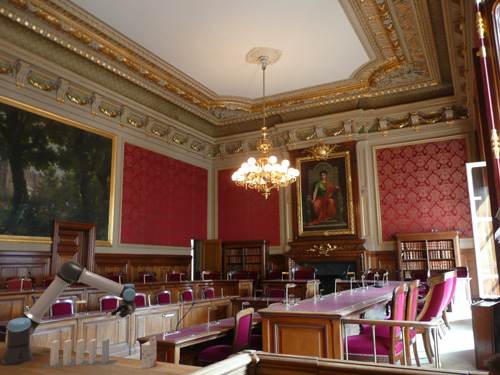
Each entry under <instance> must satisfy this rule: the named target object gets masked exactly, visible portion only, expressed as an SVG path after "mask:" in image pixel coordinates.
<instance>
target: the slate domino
mask: <svg viewBox="0 0 500 375" xmlns="http://www.w3.org/2000/svg"><path fill="white" fill-rule="evenodd" d="M101 360H102V364H105V363H107V362H108V361H109V360H110V338H108V337H107V338H105V339H103V340H102V343H101Z"/></svg>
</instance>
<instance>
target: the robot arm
mask: <svg viewBox="0 0 500 375" xmlns="http://www.w3.org/2000/svg"><path fill="white" fill-rule="evenodd" d="M75 282H76V283H77V284H78V283H81V284H82V283H83V284H85V285H88V286H90V287H93V288H95V289H98V290H100V291H103V292H106V293H108V294H111V295H113V296H115V297H117V298H120V299H122V304H120V305H118V307H117V308H116V309H114V310H113V309H110V310H108V311H105V317H106V319H110V318H112V317H113V316H114V317H115V318H116V319H119V318H126V317H127V316H129V315H132V314H134V312H135V311H136V309H137V308H136V307H137V306H136V303H135V298H136V295H137V294H136V290H135V284H133V283H128V284H126V283H125V284H121V283H119V282H116V281H114V280H111V279H109V278H106V277H104V276H101V275H100V274H96V273H94V272H92V271H89V270H87V268H86V267H84V266H82V265H81V264H80V262H78V261H76V260H74V259H73V260H66V261H65V262H63V263H62V264H61V265H60V267H59V270H58V271H57V272H56V273H55V277H54V280H52V282H51V283H50V285H49V286H48V287H47V288H46V289H45V290H44V291H43V293H42V294H41V295H40V297H39V298H38V299H37V300H36V302H35V303H34V304H33V305H32V306H31V308H29V310H28V311H24V312H23V313H22V314H21V315H20V317H18V318H14V319H11V320H9V321H8V323H7V324H8V325H7V338H6V348H5V352H4V354H3V357H2V362H1V363H2V365H5V366H10V365H11V366H13V365H21V364H24V363H28V362H30V361H32V360H33V353H32V350H31V349H32V348H31V345H30V344H31V335H33V334H34V332H35V331H36V329H37V328H38V326H40V324H41V323H42V321H41V319H42V318H43V316H44V315H45V314H46V313H47V311H48V310H49V309H50V308H51V306H52V305H53V304H54V303H55V301H57V299H58V298H59V296H60V295H61V294H62V293H63V292H64V290H65V289H66V288H67V287H68V286H71V285H73V283H75Z"/></svg>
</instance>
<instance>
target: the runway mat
mask: <svg viewBox="0 0 500 375" xmlns="http://www.w3.org/2000/svg"><path fill="white" fill-rule="evenodd" d="M118 361H119V359H109V361H108V362H107V363H105V364H102V359H101V360H96V362H95V363H93V364H89V360H84V362H83V363H81V364H79V365H76V360H73V361H72V360H71V363H69V364H67V365H63V361H58V363H57V364H55V365H53V366H50V362H49V363H47V364H44V365H43V366H42V368H46V367H47V368H49V367H50V368H51V367H52V368H53V367H75V366H76V367H77V366H80V367H81V366H105V365H107V366H109V365H110V366H112V365H115V364H116V363H118Z"/></svg>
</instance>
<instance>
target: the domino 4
mask: <svg viewBox="0 0 500 375" xmlns="http://www.w3.org/2000/svg"><path fill="white" fill-rule="evenodd" d="M97 340H98V339H97V338H93V339H91V340H89V346H88V347H89V348H88V352H89V353H88V361H89V364H93V363H95V362H96V361H97V349H98V348H97V345H98V344H97Z"/></svg>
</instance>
